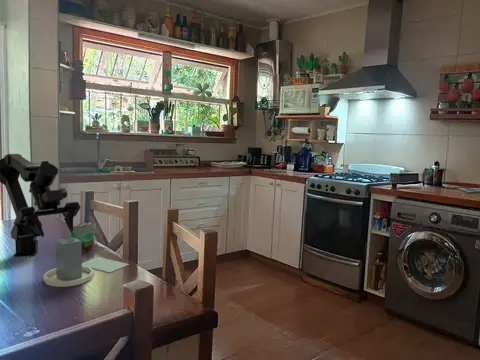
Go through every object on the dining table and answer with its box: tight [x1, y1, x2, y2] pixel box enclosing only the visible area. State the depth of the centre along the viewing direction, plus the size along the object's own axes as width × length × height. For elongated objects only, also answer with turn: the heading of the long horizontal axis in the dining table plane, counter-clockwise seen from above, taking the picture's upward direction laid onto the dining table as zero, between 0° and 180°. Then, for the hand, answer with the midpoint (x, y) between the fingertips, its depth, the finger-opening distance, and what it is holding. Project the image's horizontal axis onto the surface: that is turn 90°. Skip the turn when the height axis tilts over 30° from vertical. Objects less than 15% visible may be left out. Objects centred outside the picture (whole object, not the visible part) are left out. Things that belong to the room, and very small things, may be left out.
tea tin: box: [55, 236, 83, 281], centre depth 121 cm, size 6×6×12 cm
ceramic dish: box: [42, 265, 95, 288], centre depth 122 cm, size 14×14×2 cm
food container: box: [69, 219, 97, 252], centre depth 153 cm, size 12×6×10 cm, turn 168°
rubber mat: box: [82, 256, 130, 274], centre depth 134 cm, size 14×9×1 cm, turn 65°
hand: (58, 233), depth 125 cm, fingers open, 9 cm apart
